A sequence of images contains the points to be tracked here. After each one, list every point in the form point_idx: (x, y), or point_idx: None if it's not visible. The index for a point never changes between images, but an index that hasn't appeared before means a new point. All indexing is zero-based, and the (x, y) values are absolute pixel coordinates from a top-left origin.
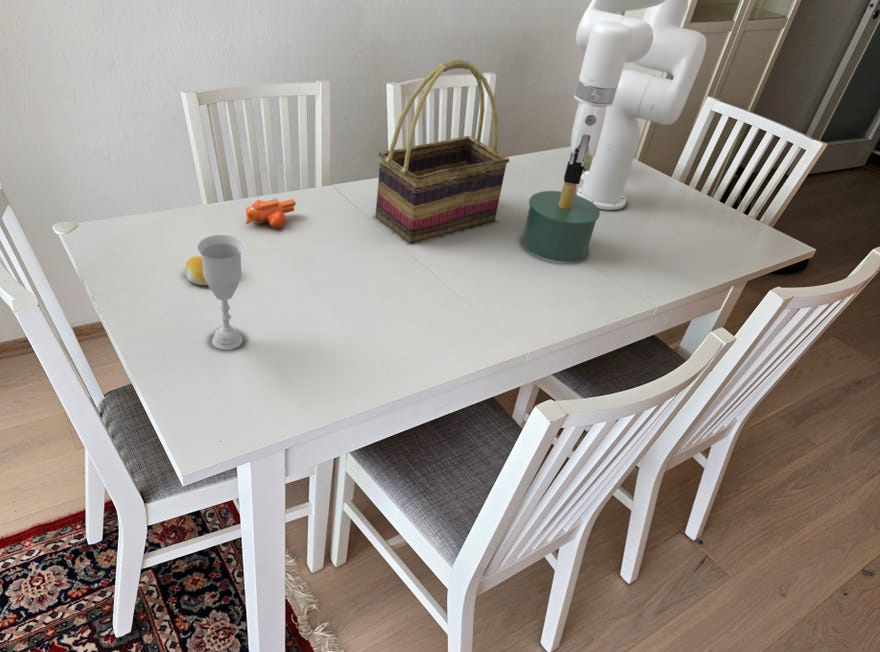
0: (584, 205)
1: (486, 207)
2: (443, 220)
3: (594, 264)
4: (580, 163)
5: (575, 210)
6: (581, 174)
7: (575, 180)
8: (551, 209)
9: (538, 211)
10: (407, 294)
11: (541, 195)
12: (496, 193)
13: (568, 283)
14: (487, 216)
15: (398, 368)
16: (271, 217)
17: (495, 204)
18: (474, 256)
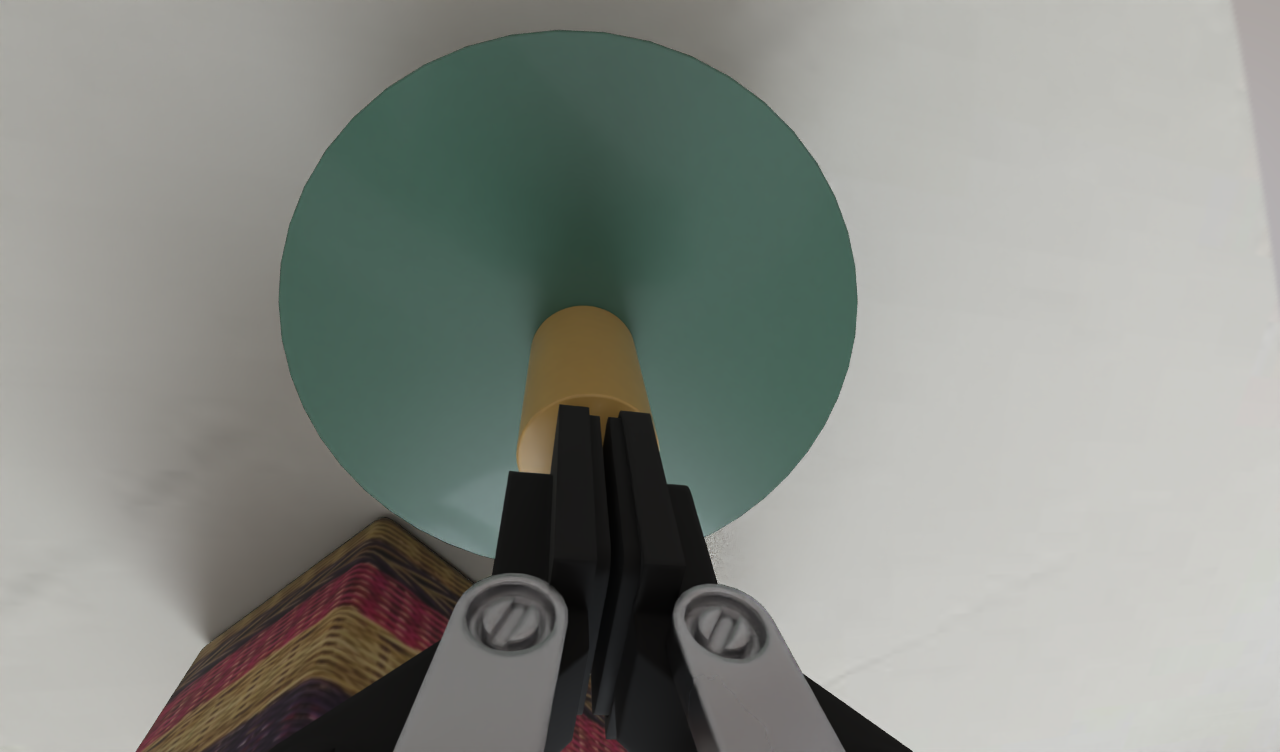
0: (514, 174)
1: (427, 622)
2: (598, 734)
3: (732, 33)
4: (834, 716)
5: (639, 275)
6: (662, 481)
7: (687, 489)
8: (663, 449)
9: (712, 526)
10: (963, 710)
11: (441, 498)
12: (368, 652)
13: (926, 229)
14: (425, 572)
15: (1252, 691)
16: None
17: (380, 593)
18: (730, 575)
